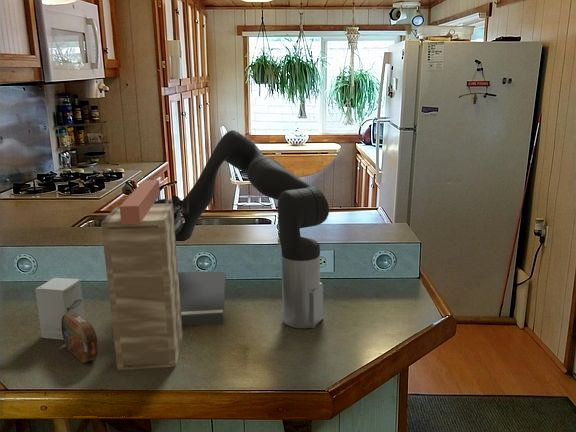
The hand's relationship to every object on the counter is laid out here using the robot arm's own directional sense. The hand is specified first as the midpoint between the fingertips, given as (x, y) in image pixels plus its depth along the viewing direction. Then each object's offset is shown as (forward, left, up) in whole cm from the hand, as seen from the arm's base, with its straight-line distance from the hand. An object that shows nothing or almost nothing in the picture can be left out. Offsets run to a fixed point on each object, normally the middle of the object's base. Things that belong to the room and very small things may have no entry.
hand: (156, 198), depth 129 cm
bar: (-9, +15, +2) cm, 18 cm away
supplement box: (+15, +20, -30) cm, 39 cm away
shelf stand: (-11, +19, -30) cm, 37 cm away
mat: (-3, -8, -30) cm, 31 cm away
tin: (+3, +26, -30) cm, 40 cm away
